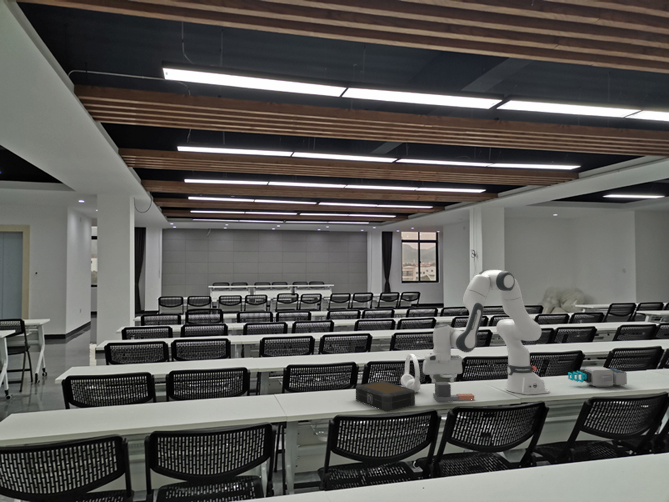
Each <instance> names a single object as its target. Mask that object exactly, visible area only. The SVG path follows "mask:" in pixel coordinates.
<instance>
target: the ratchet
mask: <svg viewBox="0 0 669 502" xmlns="http://www.w3.org/2000/svg"><path fill="white" fill-rule="evenodd" d="M432 395H433V397H432V398H433V399H434V400H435V401H436V402H437V403H449V402H448V401H452V400H470V401H475V395H474V394H473V393H457V394H451V397H438V396H437V395H436V394H435V392H434V393H433V394H432ZM471 399H472V400H471ZM452 402H453V401H452Z"/></svg>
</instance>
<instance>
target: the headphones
mask: <svg viewBox="0 0 669 502" xmlns="http://www.w3.org/2000/svg"><path fill="white" fill-rule="evenodd" d="M411 359H412V362H413V365H414V373H415V374H414V376H413V375H411V374H410V361H411ZM404 362H405V363H404V374H403V375H402V376H401V378H400V384H401V386H402V387H406V388H409V389H413V390H414V391H415V394H416V393H417V392H419V391H420V389H421V382H420V378H421V375H420V374H421V373H420V365H419V361H418V358H417V356H416V355H415V354H414V353H408V354H407V355H406V356H405V361H404Z"/></svg>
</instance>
